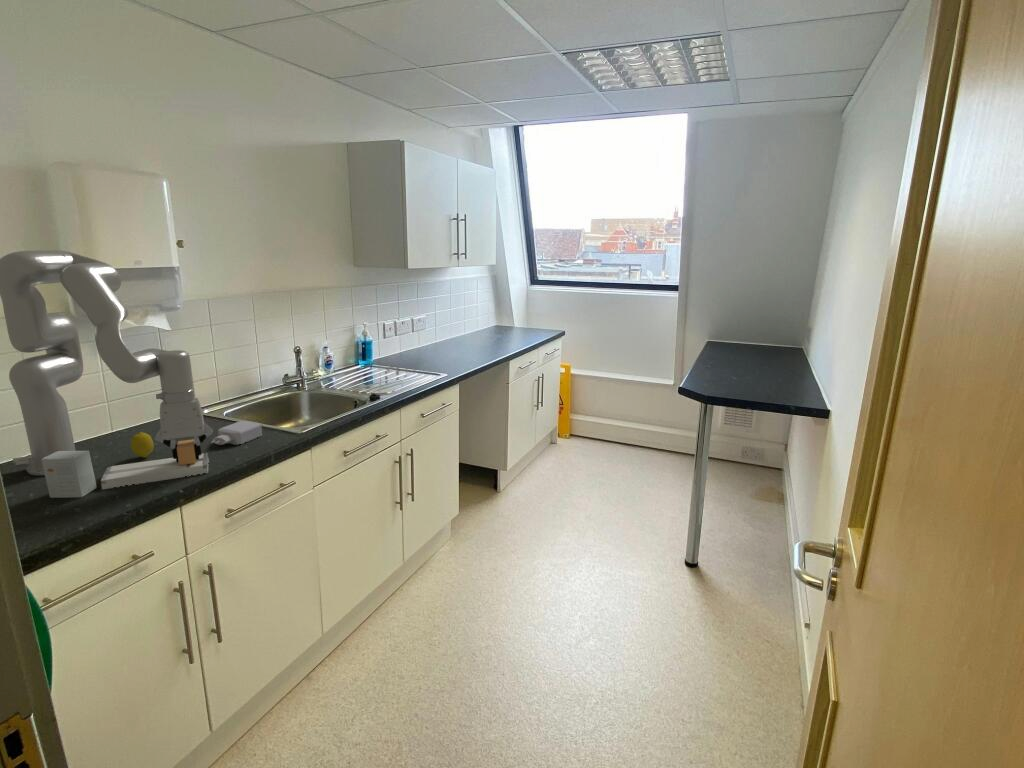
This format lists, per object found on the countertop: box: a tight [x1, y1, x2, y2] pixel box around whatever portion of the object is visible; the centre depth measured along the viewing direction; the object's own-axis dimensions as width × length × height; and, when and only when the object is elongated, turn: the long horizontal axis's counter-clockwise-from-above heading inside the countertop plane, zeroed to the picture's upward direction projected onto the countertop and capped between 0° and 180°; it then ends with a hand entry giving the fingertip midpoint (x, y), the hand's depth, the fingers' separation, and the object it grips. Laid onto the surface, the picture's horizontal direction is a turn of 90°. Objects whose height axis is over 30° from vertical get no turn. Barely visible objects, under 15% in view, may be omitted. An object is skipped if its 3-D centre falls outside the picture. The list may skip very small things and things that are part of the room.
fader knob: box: [176, 438, 196, 465], centre depth 154 cm, size 4×6×6 cm, turn 27°
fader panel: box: [100, 452, 210, 490], centre depth 152 cm, size 24×10×3 cm, turn 117°
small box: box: [41, 450, 98, 499], centre depth 139 cm, size 8×6×10 cm
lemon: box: [130, 431, 155, 458], centre depth 162 cm, size 6×6×8 cm
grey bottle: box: [210, 420, 263, 446], centre depth 177 cm, size 5×9×15 cm
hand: (187, 458), depth 154 cm, fingers closed on fader knob, 4 cm apart
